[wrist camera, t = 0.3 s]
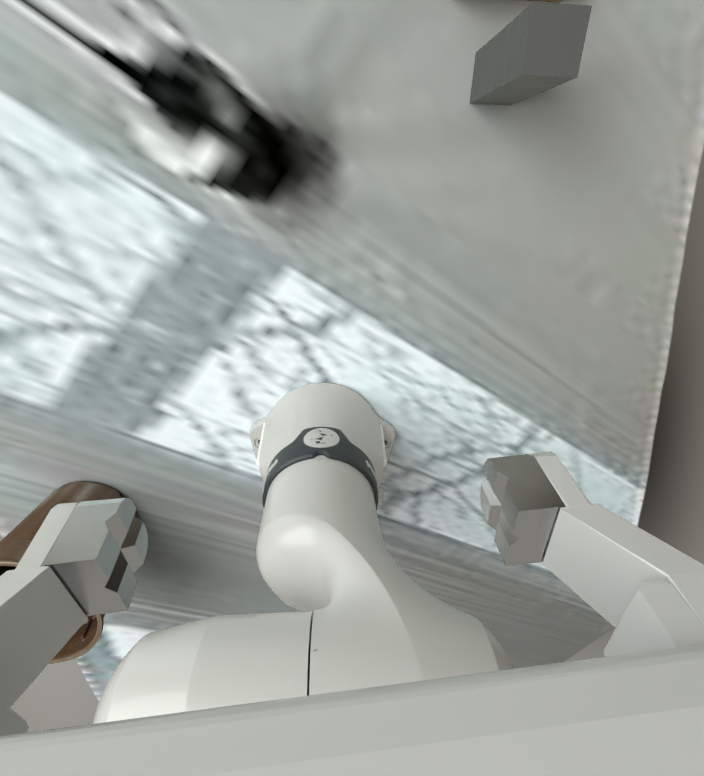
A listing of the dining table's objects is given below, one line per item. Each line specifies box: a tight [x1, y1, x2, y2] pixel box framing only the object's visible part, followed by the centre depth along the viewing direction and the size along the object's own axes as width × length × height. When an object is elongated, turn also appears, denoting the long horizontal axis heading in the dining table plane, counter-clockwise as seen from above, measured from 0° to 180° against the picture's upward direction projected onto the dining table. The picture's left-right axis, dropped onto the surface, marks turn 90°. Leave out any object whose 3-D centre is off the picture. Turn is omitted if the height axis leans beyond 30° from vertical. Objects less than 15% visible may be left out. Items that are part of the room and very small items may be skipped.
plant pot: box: [0, 481, 137, 664], centre depth 55 cm, size 16×16×16 cm
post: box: [470, 2, 592, 105], centre depth 36 cm, size 4×4×13 cm
